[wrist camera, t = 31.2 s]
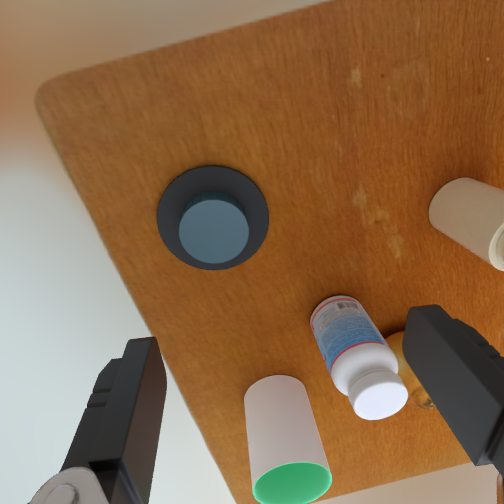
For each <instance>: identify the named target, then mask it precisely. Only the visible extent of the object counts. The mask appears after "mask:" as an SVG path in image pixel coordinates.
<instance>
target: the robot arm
mask: <svg viewBox="0 0 504 504" xmlns="http://www.w3.org/2000/svg"><path fill="white" fill-rule="evenodd" d="M402 350H403V354H404V357H405V360H406V362H407V363H408V365H409V366H410V368H411V369H412V371H413V372H414V374H415V375H416V377H417V379H418V380H419V382H420V383H421V385H422V386H423V388H424V389H425V391H426V392H427V394H428V395H429V397H430V398H431V400H432V401H433V403H434V404H435V406H436V407H437V409H438V410H439V412H440V413H441V415H442V416H443V418H444V419H445V421H446V422H447V424H448V425H449V427H450V428H451V430H452V432H453V433H454V435H455V436H456V438H457V439H458V441H459V442H460V444H461V445H462V447H463V448H464V450H465V451H466V453H467V454H468V456H469V457H470V459H471V460H472V462H473V463H474V465H475V466H480V465H487V464H493V465H494V466H495V467H496V469H497V470H498V472H499V475H498V477H497V504H504V357H501V356H500V353H499V352H498V351H497V350H496V349H495V348H494V347H493V346H492V345H489V342H488V341H487V340H486V339H485V338H484V337H483V336H482V335H480V334H479V333H478V332H477V331H476V330H475V329H474V328H472V327H471V326H469V325H467V324H465V323H464V322H462V321H460V320H459V319H452V318H451V317H450V316H449V315H448V314H447V313H446V312H445V311H444V310H443V309H442V308H441V307H440V306H439V305H437V304H433V305H425V306H416V307H411V308H410V309H409V312H408V316H407V321H406V326H405V331H404V336H403V340H402ZM166 390H167V377H166V371H165V367H164V363H163V360H162V356H161V353H160V349H159V346H158V342H157V339H156V338H155V337H146V338H138V339H130V340H129V341H128V342H127V345H126V348H125V351H124V354H123V357H122V358H118V359H111V361H110V362H109V363H108V364H107V365H106V367H105V368H104V369H103V370H102V371H101V372H100V374H99V375H98V378H97V380H96V383H95V386H94V388H93V393H92V394H91V396H90V398H89V401H88V403H87V408H86V409H85V411H84V413H83V416H82V419H81V421H80V423H79V426H78V428H77V431H76V434H75V436H74V439H73V441H72V444H71V446H70V449H69V451H68V454H67V456H66V459H65V462H64V464H63V466H62V468H61V470H60V472H59V473H58V474H56V475H55V476H53V477H52V478H51V479H49V480H48V481H47V482H46V483H45V484H44V485H43V486H42V487H41V488H40V489H39V490H38V491H37V492H36V494H35V495H34V497H33V498H32V500H31V501H30V502H29V503H28V504H148V503H149V497H150V490H151V484H152V478H153V472H154V466H155V459H156V453H157V447H158V440H159V434H160V428H161V422H162V416H163V409H164V403H165V397H166Z"/></svg>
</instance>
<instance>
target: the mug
mask: <svg viewBox="0 0 504 504" xmlns="http://www.w3.org/2000/svg"><path fill="white" fill-rule="evenodd" d="M244 406H245V416H246V427H247V437H248V448H249V458H250V469H251V479H252V490H253V495H254V497H255V499H256V500H257V501H259V502H260V503H262V504H307V503H309V502H311V501H314V500H315V499H317V498H319V497H320V496H322V495H323V494H324V493H325V492H326V491H327V490H328V489H329V487H330V485H331V483H332V475H331V472H330V469H329V465H328V462H327V459H326V455H325V452H324V449H323V445H322V442H321V439H320V435H319V432H318V429H317V425H316V422H315V419H314V415H313V412H312V409H311V405H310V402H309V399H308V395H307V392H306V389H305V386H304V385H303V383H302V382H301V381H299V380H298V379H296V378H294V377H291V376H287V375H273V376H269V377H265V378H263V379H260V380H258V381H257V382H255V383H254V384H253V385H251V386H250V387H249V389H248V390H247V392H246V393H245V396H244Z"/></svg>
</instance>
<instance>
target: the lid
mask: <svg viewBox="0 0 504 504" xmlns="http://www.w3.org/2000/svg"><path fill="white" fill-rule="evenodd" d="M179 224H180V225H179V238H180V241H181V244H182V246H183V247H184V249H185V250H186V251H187V252H188V253H189V254H190V255H191V256H192V257H194V258H195V259H197V260H199V261H202V262H206V263H223V262H226V261H229V260H231V259H233V258H234V257H236V256H237V255H238V254H239V253H241V251H242V250H243V249H244V247H245V246H246V243H247V241H248V237H249V223H248V219H247V218H246V213H245V209H243V207H242V206H241V204H240V203H239V202H238V200H236V199H235V198H233V197H232V196H230V195H228V194H225V193H222V192H216V191H215V192H205V193H204V192H203V193H202V194H199V195H197V196H196V197H194V198H192V199H191V200H190V201H189V202H188V204H187V205H186V206H184V210H183V213H182V216H180V220H179Z"/></svg>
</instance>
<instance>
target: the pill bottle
mask: <svg viewBox="0 0 504 504" xmlns="http://www.w3.org/2000/svg"><path fill="white" fill-rule="evenodd" d="M310 325H311V329H312V332H313V334H314V336H315V339H316V341H317V344H318V346H319V349H320V351H321V353H322V356H323V358H324V361H325V363H326V366H327V368H328V370H329V373H330V375H331V378H332V380H333V382H334V384H335V386H336V387H337V389H338V390H339V391H340V392H342V393H343V394H345V395H347V396H348V397H349V401H350V403H351V404H352V407H353V409H354V411H355V413H356V414H357V415H358V416H360V417H361V418H364V419H368V420H378V419H383V418H386V417H389V416H391V415H393V414H395V413H396V412H398V411H399V410H400V409H401V408H402V407H403V406H404V405H405V403H406V401H407V399H408V391H407V389H406V387H405V385H404V384H403V382H402V380H401V378H400V377H399V376H398V375H397V373H398V362H397V359H396V357H395V355H394V353H393V352H392V350H391V348H390V347H389V346H388V344H387V343H386V341H385V340H384V338H383V337H382V335H381V334H380V332H379V331H378V329H377V328H376V326H375V325H374V323H373V322H372V320H371V319H370V317H369V316H368V314H367V313H366V311H365V310H364V308H363V307H362V305H361V304H360V303H359V302H358V301H357V300H356V299H354V298H352V297H349V296H334V297H330V298H328V299H326V300H324V301H323V302H322V303H320V304H319V305H318V306H317V308H316V309H315V310H314V312H313V314H312V316H311V321H310Z"/></svg>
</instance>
